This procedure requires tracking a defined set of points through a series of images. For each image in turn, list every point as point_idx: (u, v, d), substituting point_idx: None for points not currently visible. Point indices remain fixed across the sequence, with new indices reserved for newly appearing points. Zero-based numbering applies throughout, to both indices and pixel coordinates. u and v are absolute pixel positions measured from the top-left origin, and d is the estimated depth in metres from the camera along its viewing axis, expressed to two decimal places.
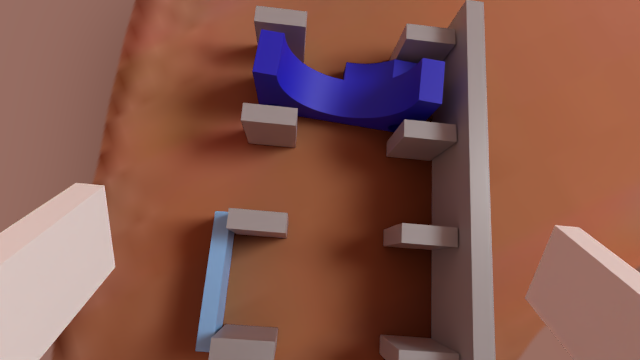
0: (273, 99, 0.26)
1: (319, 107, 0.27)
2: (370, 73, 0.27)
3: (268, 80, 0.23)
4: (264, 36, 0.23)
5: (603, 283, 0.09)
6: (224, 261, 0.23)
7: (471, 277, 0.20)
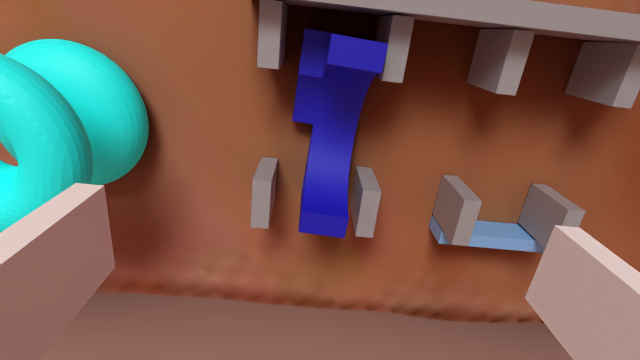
0: None
1: (347, 152, 0.26)
2: (308, 96, 0.24)
3: None
4: (306, 228, 0.23)
5: (603, 283, 0.09)
6: (480, 235, 0.28)
7: (583, 34, 0.19)
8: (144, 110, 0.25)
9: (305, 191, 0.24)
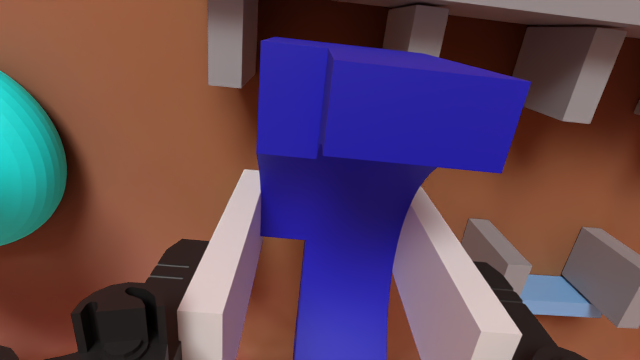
0: None
1: (381, 289, 0.12)
2: (289, 191, 0.11)
3: None
4: None
5: (413, 225, 0.10)
6: None
7: None
8: (56, 143, 0.17)
9: None
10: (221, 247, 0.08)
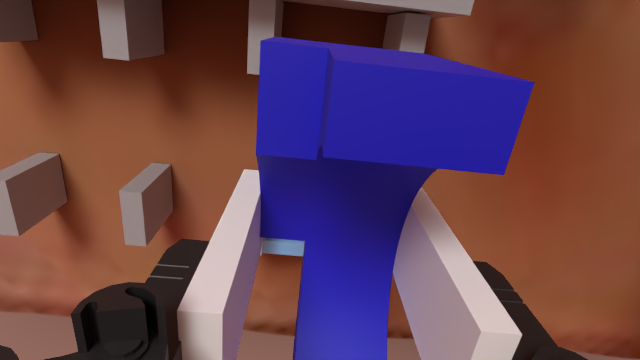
0: None
1: (381, 291, 0.12)
2: (288, 192, 0.11)
3: None
4: None
5: (412, 225, 0.10)
6: (295, 241, 0.24)
7: None
8: None
9: None
10: (221, 247, 0.08)
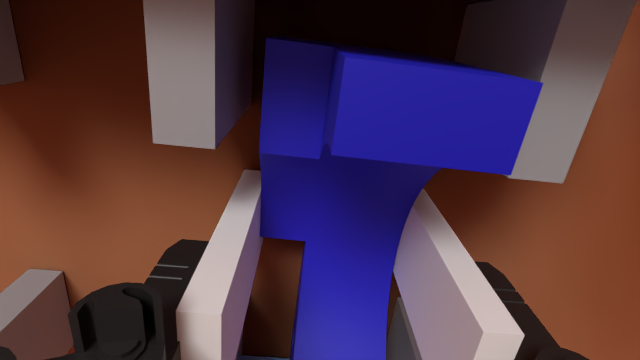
0: None
1: (380, 292, 0.12)
2: (290, 191, 0.11)
3: None
4: None
5: (414, 225, 0.10)
6: None
7: None
8: None
9: None
10: (221, 247, 0.08)
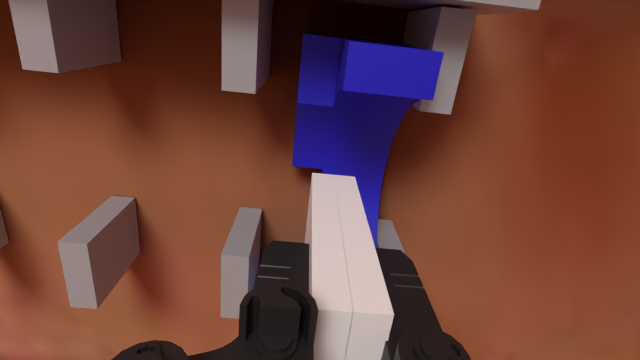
0: None
1: (373, 204, 0.18)
2: (313, 132, 0.16)
3: None
4: None
5: None
6: None
7: None
8: None
9: None
10: (325, 248, 0.08)
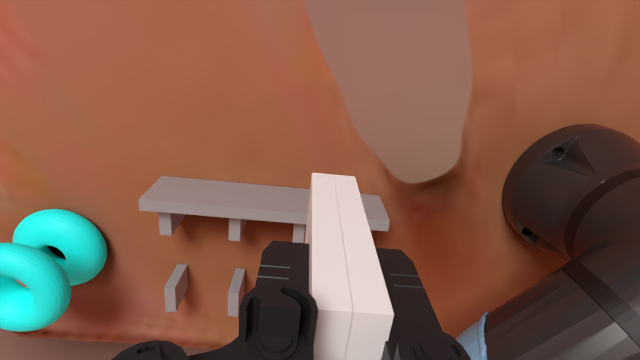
0: None
1: None
2: None
3: None
4: None
5: None
6: None
7: None
8: (103, 244, 0.42)
9: None
10: (325, 249, 0.08)
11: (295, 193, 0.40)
